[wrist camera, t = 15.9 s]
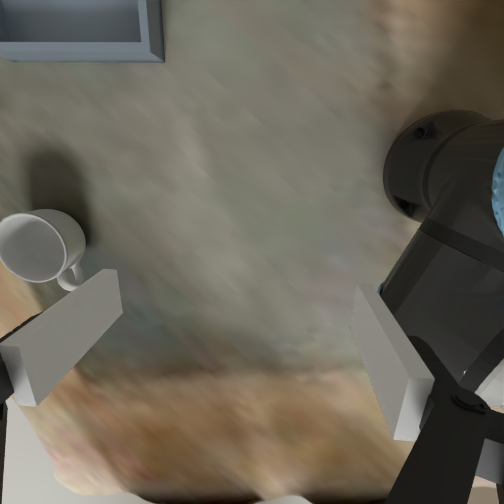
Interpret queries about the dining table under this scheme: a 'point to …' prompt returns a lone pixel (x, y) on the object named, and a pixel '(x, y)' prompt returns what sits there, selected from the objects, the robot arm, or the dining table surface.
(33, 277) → the teacup
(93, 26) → the box
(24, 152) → the dining table surface
